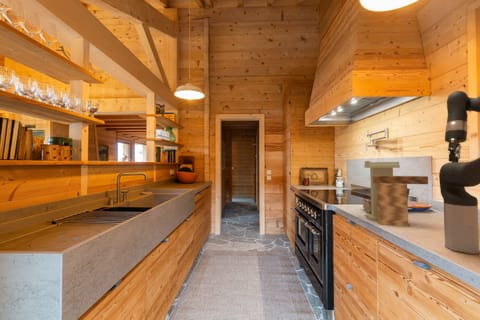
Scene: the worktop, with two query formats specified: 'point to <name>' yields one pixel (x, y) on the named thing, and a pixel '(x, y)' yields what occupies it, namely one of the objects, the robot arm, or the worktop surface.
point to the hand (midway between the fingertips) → (453, 163)
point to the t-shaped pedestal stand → (376, 170)
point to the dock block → (392, 204)
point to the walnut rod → (400, 179)
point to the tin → (367, 205)
